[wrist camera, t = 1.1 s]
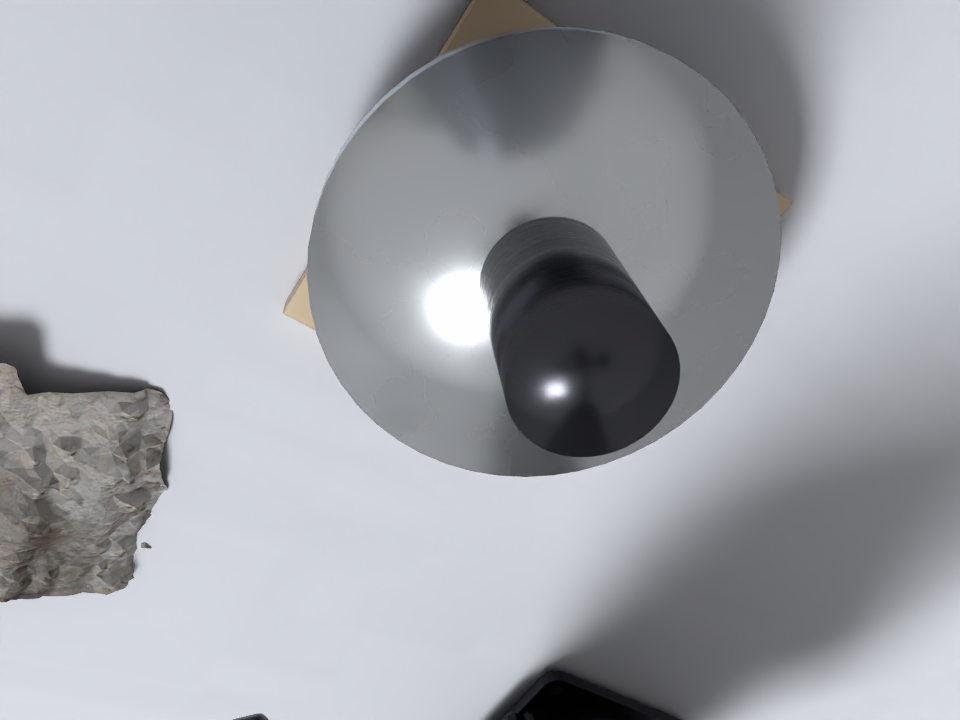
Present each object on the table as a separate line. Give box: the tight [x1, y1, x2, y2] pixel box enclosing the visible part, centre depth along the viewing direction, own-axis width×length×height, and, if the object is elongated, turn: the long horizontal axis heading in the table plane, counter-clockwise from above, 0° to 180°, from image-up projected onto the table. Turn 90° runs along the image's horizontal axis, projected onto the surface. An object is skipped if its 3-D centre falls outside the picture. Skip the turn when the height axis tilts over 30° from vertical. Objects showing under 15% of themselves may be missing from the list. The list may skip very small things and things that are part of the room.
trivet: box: [283, 0, 792, 331], centre depth 20 cm, size 9×9×1 cm
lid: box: [307, 27, 781, 477], centre depth 17 cm, size 11×11×6 cm
